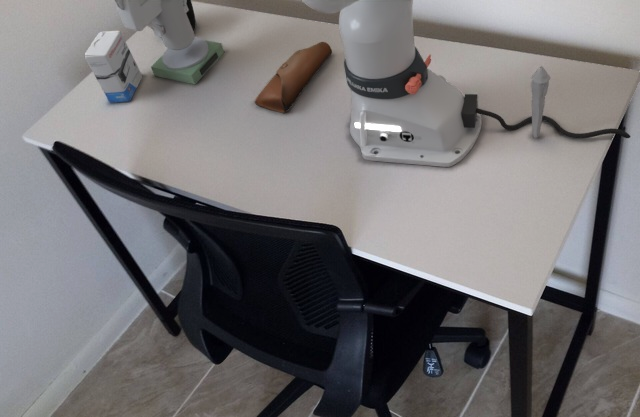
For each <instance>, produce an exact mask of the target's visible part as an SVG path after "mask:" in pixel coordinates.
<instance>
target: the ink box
mask: <svg viewBox="0 0 640 417" xmlns="http://www.w3.org/2000/svg"><path fill="white" fill-rule="evenodd" d="M84 55H85V56H84V59H85V61H86V63H87V64H88V66H89V68H90V70H91V71H92V73H93V75H94V77H95V78H96V79H95V80H96V81H97V82H98V84H99V86H100V88H101V90H102V91H103V93H104V95H105V97H106V99H107V100H108V102H109V103H110V104H114V103H128V102H131V100H132V98H133V96H134V94H135V92H136V90H137V88H138V86H139V84H140V82H141V81H142V78H143V74H142V72H141V70H140V68H139V66H138V65H137V62H136V60H135V58H134V56H133V54H132V51H131V50H130V48H129V45H128V44H127V41H126V40H125V38H124V36H123V34H122V31H121V30H104V31H103V30H102V31H98V33H97V34H96V36H95V38H94V39H93V41H91V43H90V45H89V47H88V48H87V49H86V51H85V53H84Z"/></svg>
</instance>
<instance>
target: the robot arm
mask: <svg viewBox="0 0 640 417" xmlns="http://www.w3.org/2000/svg"><path fill="white" fill-rule="evenodd" d="M114 2H115V7H116V8H117V12H118V15H119V18H120V20H121V23H122V25H123V26H124V28H125V29H127V30H129V31H134V32H142V31H143V30H144V29H145V28H146V27H148V28H150V29H152V31H153V33H154V36H156V37H158V38H162V36H163V35H164V34H165V33H166V30H165V28H164V25H158V24H156V22H157V19H156V17H157V16H158V15H159V14H160V13H161V12H162V8H161V0H114ZM181 2H182V4H183V7H184V9H185V12H187V11H188V10H189V9H188V7H187V4H186V3H187V0H181ZM301 2H302V3H303V4H304V5H306V6H307V7H309V8H310V9H312V10H314V11H316V12H318V13H321V14H327V15H332V14H336V13H339V17H338V28H339V33H340V39H341V45H342V49H343V55H344V59H343V60H344V61H343V67H344V74H345V79H346V85H347V86H348V87H349V89H350V100H351V114H350V123H349V133H350V136H351V138H352V139H353V140H354V141H355V143H356V144H357V145H358V147H359V148H360V154H361V158H363V160H366V161H370V162H384V163H395V164H406V165H416V166H417V165H418V166H428V167H430V166H432V167H442V168H443V167H444V168H450V167H453V166H454V165H456V164H458V163H459V162H461V161H462V160H463V159H464V158H465V157H466V156H467V155H468V154H469V153H470V151H471V150H472V149H473V146H475V144H476V142H477V140H478V137H479V135H480V134H481V133H480V132H481V130H482V115H483V116H486V117H489V118H493V119H494V120H497V121H498V123H499V124H500V126H501V127H502V128H503V129H504V130H507V131H515V130H518V129H520V128H522V127H524V126H525V125H528V124H529V123H532V115H530V116H528V117H526V118H524V119H523V120H522V121H519V122H518V123H515V124H511V125H510V124H507V122H506V121H505V119H504V118H503V117H502V116H501V115H499V114H497V113H495V112H492V111H490V110H486V109H482V108H479V99H478V98H479V96H478V93H465V94H463V92H462V90H461V89H460V88H458V87H456V86H455V85H453V84H451V83H450V82H448V81H447V79H446V78H445V77H444V76H443V75H440V74H436V73H435V72H434V71H432V70H431V69H429V66H430V65H431V62H432V54H431V53H430V54H429V55H428V56H426V58H425V61H424V58H423V57H422V55H421V54H420V51H419V50H418V48H417V47H416V43H415V32H414V19H413V18H414V17H413V5H414V0H301ZM542 121H544V122H547V123H548V124H550V125H551V126H552V127H553V128H554V129H555V130H556V132H558V133H559V134H561V135H563V136H565V137H568V138H572V139H589V138H593V137H598V136H603V135H604V136H605V135H611V134H614V135H619V136H620V137H623V138H625V139H630V138H631V135H630V134H629V133H628V132H626V131H625V130H623V129H619V128H612V127H611V128H603V129H598V130H594V131H589V132H582V133H581V132H580V133H575V132H572V131H571V132H570V131H568V130H566V129H565V128H563V127H562V126H561V125H560V124H559V123H558V122H557V121H555V120H554V119H553V117H549V116H547V115H544V114H543V116H542Z"/></svg>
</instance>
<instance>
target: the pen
mask: <svg viewBox="0 0 640 417" xmlns="http://www.w3.org/2000/svg"><path fill="white" fill-rule="evenodd" d="M530 79H531V81H530V89H531V107H530V108H531V116H532V121H531V134H532V137H534V138H535V139H537V138H538V137H540V133H541V129H542V128H541V127H542V122H543V120H542V116H543V115H544V110H545V104H546V96H547V94H548V90H549V86H550V81H551V76H550V75H549V73H548V71H547V70H546V69H545V68H544V66H543V65H540V66H539V67H538V68H537V69H536V70H535V71H534V73H533V74H532V75H531V77H530Z"/></svg>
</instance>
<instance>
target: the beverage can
mask: <svg viewBox="0 0 640 417" xmlns="http://www.w3.org/2000/svg"><path fill="white" fill-rule="evenodd" d="M161 8H162V12H161V13H160V14H159V15H158V16H157V17H156V19H157V22H156V24H158V25H164V28H165V30H166V33H165V34H164V35H163V36H162V37H161V39H162V41H163V43H164V45H165V47H166V49H171V50H182V49H185V48H187V47H189V46H190V45H191V44H192V43H193V40H194V39H195V38H196V34H195V31H194V32H193V29H192V27H191V24H190V22H189V19H188V17H187V14H186V12H185V9H184V7H183V4H182V2H181V0H161Z"/></svg>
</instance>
